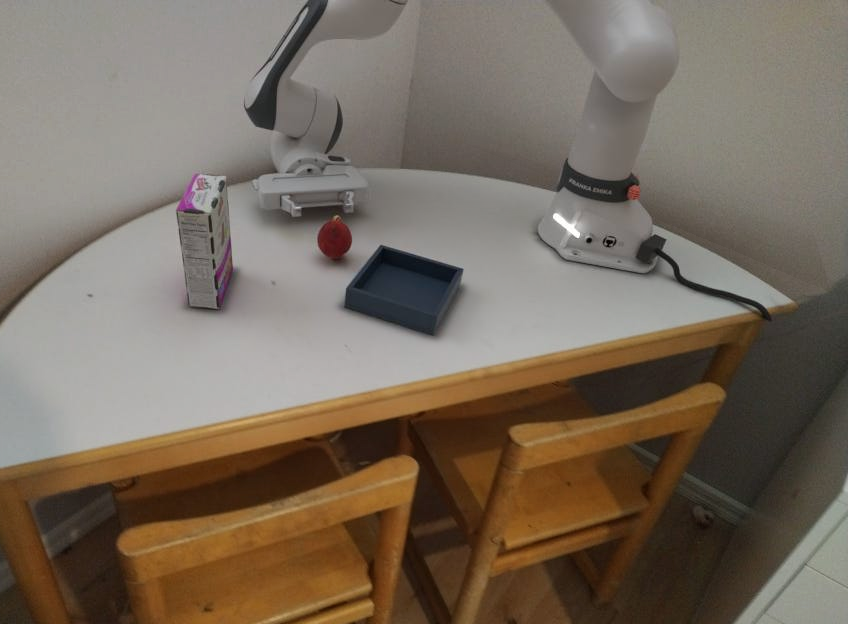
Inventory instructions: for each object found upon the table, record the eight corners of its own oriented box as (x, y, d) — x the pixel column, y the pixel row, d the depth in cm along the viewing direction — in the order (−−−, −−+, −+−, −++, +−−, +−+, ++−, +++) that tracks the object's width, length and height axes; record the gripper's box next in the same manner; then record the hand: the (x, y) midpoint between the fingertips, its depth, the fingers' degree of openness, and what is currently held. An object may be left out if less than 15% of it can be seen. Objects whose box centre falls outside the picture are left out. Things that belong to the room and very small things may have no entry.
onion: (345, 270, 106) (349, 228, 101) (312, 264, 107) (314, 221, 102) (353, 253, 111) (357, 211, 106) (321, 247, 111) (323, 205, 106)
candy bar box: (202, 267, 103) (193, 171, 93) (233, 270, 104) (228, 175, 93) (186, 308, 95) (174, 208, 84) (219, 311, 95) (212, 211, 84)
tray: (459, 286, 106) (463, 268, 104) (433, 335, 96) (437, 316, 93) (378, 262, 109) (380, 244, 107) (344, 307, 99) (345, 288, 96)
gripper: (249, 162, 116) (264, 198, 106) (356, 157, 122) (380, 190, 112) (250, 194, 120) (264, 231, 110) (354, 188, 126) (376, 222, 116)
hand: (323, 211), depth 111 cm, fingers open, 8 cm apart
